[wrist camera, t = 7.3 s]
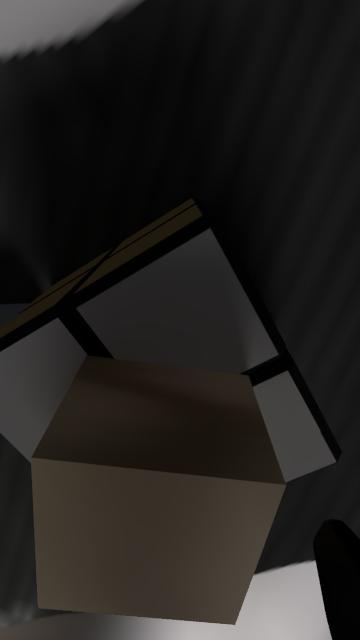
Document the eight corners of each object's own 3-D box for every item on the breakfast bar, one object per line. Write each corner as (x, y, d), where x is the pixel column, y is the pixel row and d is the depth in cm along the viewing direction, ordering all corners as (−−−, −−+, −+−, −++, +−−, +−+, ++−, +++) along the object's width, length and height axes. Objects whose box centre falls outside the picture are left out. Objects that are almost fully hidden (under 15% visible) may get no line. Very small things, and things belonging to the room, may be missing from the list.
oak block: (82, 475, 12) (38, 608, 8) (86, 355, 10) (30, 457, 6) (218, 490, 12) (234, 625, 8) (248, 375, 10) (286, 485, 7)
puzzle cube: (275, 339, 21) (350, 464, 12) (143, 405, 23) (117, 556, 14) (196, 193, 18) (214, 208, 8) (50, 286, 20) (-67, 380, 10)
